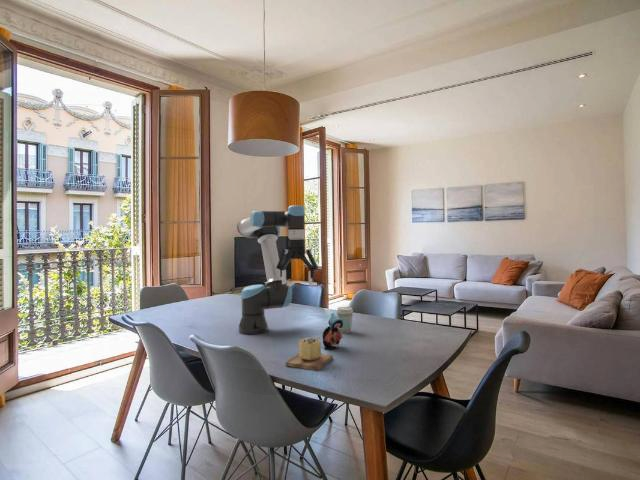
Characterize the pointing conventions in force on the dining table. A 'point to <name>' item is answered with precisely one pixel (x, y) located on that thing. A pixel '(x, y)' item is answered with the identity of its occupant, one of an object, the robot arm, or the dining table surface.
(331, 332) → the figurine
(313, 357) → the hub
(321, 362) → the shaft block
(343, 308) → the coffee cup
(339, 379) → the dining table surface
